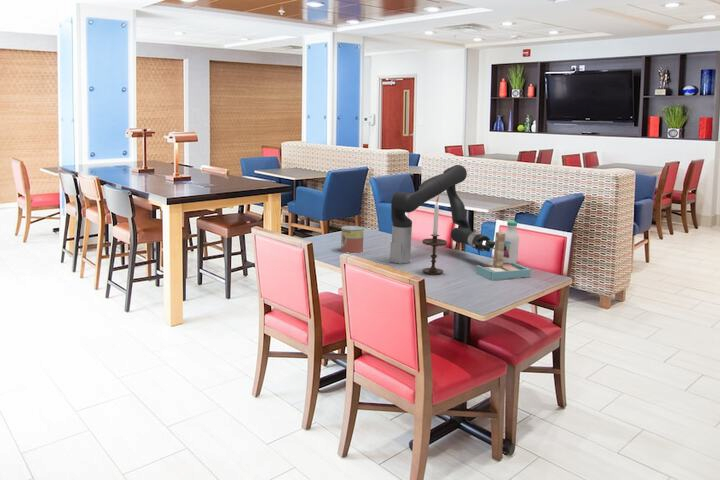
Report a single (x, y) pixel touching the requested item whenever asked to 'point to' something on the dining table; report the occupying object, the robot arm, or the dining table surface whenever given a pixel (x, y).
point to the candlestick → (434, 244)
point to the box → (504, 272)
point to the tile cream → (496, 269)
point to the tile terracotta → (509, 268)
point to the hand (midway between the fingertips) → (497, 249)
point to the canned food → (352, 239)
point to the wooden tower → (498, 251)
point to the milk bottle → (511, 243)
